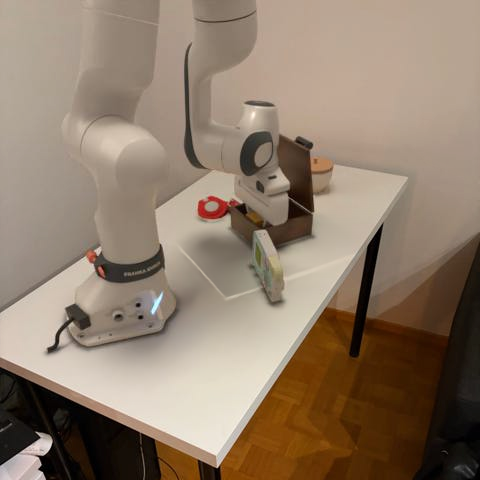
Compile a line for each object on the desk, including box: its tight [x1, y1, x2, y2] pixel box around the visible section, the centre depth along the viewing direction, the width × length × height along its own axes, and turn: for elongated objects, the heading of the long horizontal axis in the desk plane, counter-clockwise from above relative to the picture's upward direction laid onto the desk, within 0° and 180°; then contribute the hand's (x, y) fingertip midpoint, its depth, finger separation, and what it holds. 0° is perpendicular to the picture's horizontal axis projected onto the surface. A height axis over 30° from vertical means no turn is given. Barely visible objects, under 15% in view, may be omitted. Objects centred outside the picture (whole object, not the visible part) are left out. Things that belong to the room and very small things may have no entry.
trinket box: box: [310, 156, 335, 194], centre depth 142 cm, size 11×11×9 cm
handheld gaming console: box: [251, 230, 285, 303], centre depth 105 cm, size 11×3×15 cm
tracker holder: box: [197, 195, 242, 220], centre depth 134 cm, size 12×4×10 cm
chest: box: [229, 197, 314, 247], centre depth 123 cm, size 16×15×6 cm
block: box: [246, 212, 272, 228], centre depth 122 cm, size 5×5×5 cm
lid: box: [277, 132, 315, 214], centre depth 119 cm, size 16×15×5 cm
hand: (259, 225), depth 122 cm, fingers closed on block, 5 cm apart
